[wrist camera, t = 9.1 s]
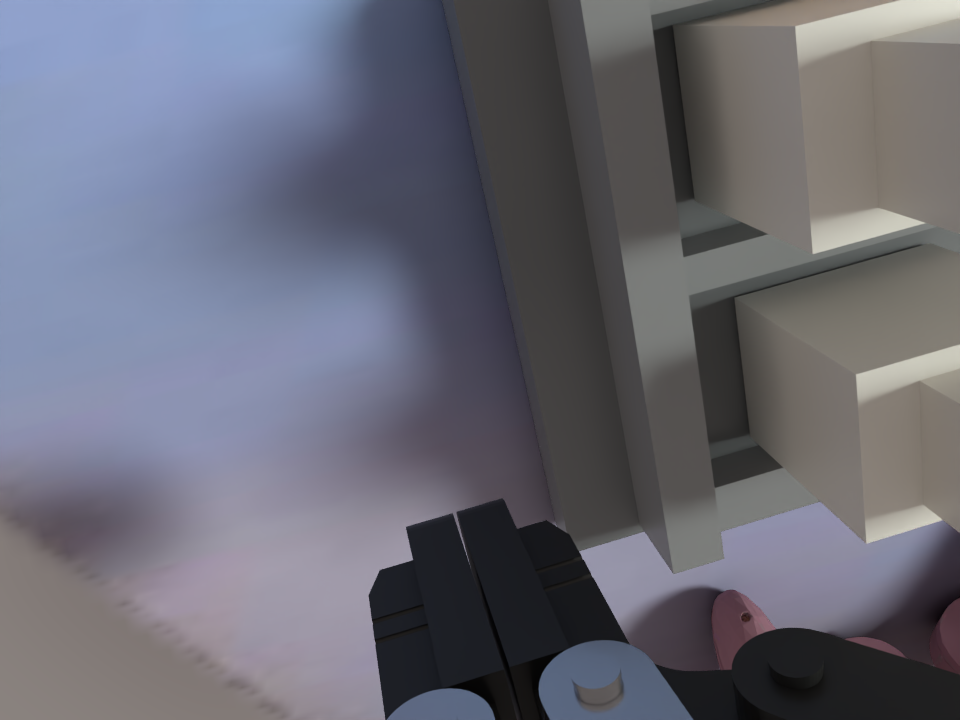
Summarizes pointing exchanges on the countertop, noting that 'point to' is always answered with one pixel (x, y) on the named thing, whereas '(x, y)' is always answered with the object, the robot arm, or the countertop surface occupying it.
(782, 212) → the tab
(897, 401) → the tab
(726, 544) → the countertop surface
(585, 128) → the switch bank
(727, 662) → the video game controller
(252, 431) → the countertop surface
